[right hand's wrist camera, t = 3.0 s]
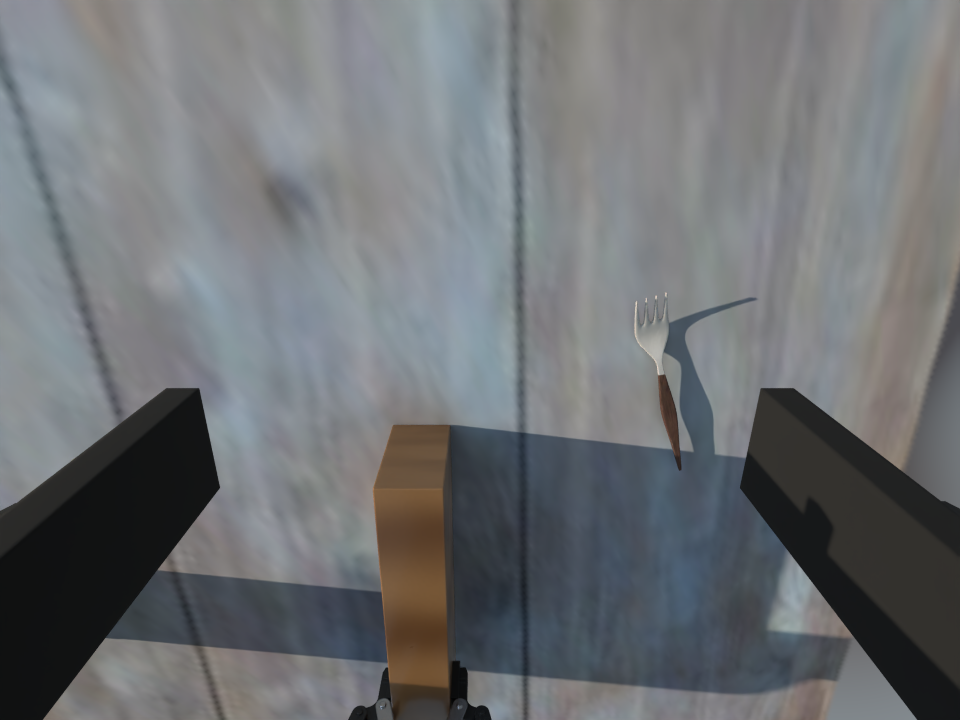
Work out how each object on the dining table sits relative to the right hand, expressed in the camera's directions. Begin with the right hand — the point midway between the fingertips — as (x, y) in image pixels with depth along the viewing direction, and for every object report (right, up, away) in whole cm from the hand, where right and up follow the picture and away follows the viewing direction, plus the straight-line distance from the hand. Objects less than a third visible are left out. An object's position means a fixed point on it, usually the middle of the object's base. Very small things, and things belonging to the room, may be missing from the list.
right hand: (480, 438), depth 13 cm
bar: (-5, -16, +36) cm, 40 cm away
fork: (+14, 0, +30) cm, 33 cm away
